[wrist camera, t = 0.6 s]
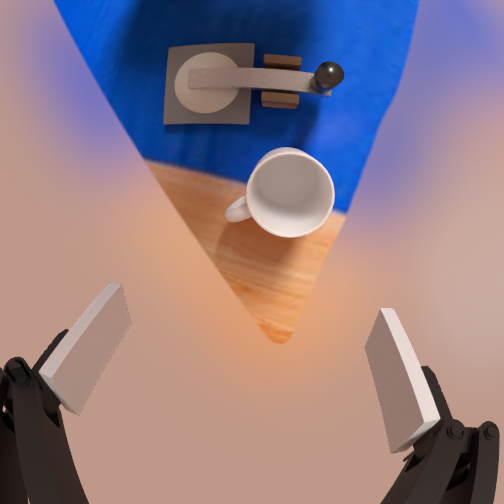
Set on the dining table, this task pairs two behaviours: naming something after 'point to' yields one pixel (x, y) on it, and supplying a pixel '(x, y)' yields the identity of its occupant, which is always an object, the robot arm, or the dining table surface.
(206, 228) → the dining table surface
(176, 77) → the dock pad
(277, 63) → the mount
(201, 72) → the crank handle
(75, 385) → the robot arm
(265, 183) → the mug
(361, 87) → the dining table surface
